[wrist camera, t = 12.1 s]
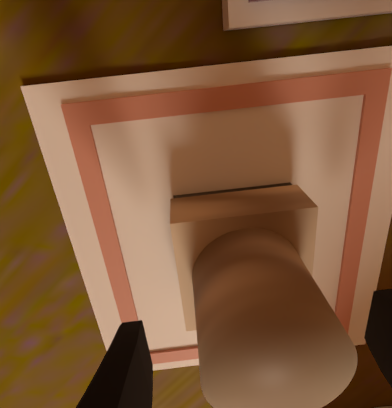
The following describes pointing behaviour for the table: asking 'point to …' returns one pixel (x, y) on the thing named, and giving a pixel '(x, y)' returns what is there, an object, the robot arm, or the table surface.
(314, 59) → the marked sheet
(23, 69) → the table surface
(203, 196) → the stamp
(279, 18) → the ink pad
